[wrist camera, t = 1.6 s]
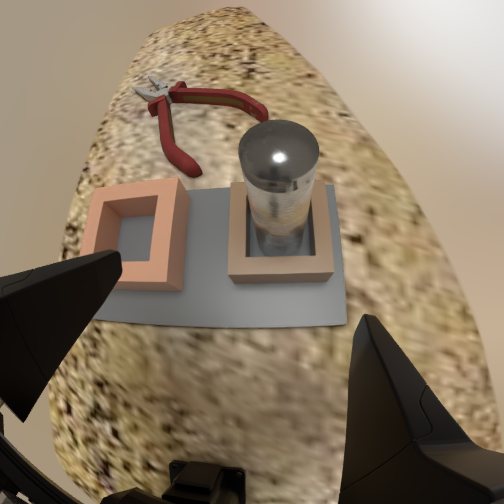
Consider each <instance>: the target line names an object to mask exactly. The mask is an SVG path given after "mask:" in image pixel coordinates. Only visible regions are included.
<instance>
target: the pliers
mask: <svg viewBox="0 0 504 504" xmlns="http://www.w3.org/2000/svg"><path fill="white" fill-rule="evenodd" d="M148 78H149V79H150V81H151V82H152V83H153V85H154V86H155V87H156V88H157V90H158V91H157V92H154V91H152V90H151V89H148V88H142V87H132V89H134V90H135V91H136V92H137V93H139V94H140V95H141V96H142V97H144V98H145V99H146V100H148V101H150V102H149V103H148V110H149V112H150V114H151V116H152V117H154V116H157V115H158V120H159V131H160V141H161V145H162V149H163V151H164V154H165V156H166V157H167V159H168V160H169V161H170V162H171V163H173V164H174V165H175V166H177V167H178V168H179V169H180V170H182V171H183V172H184V173H185V174H187V175H188V176H191V177H197V176H199V175H200V174H202V170H201V168H200V166H199V165H198V164H197V162H196V161H195V160H194V159H193V158H192V157H190V156H189V155H188V154H186V153H185V152H184V151H182V150H181V149H180V148H178V147H177V146H176V145H175V139H174V133H173V125H172V118H171V111H170V105H169V104H171V103H193V104H211V105H224V106H231V107H235V108H238V109H241V110H243V111H245V112H246V113H248V114H249V115H251V116H253V117H254V118H256V119H257V120H259V121H260V122H265V121H267V119H268V110H267V108H266V107H265V106H264V105H263V104H261V103H260V102H258V101H256V100H255V99H253V98H252V97H250V96H248V95H247V94H244V93H242V92H238V91H233V90H226V89H209V88H187V86H186V83H185V82H184V81H179V82H177V84H176V85H175V86H174V87H171V88H168V87H167V85H166V84H165V83H164V82H162V81H160V80H157V79H154V78H152V77H149V76H148Z"/></svg>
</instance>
